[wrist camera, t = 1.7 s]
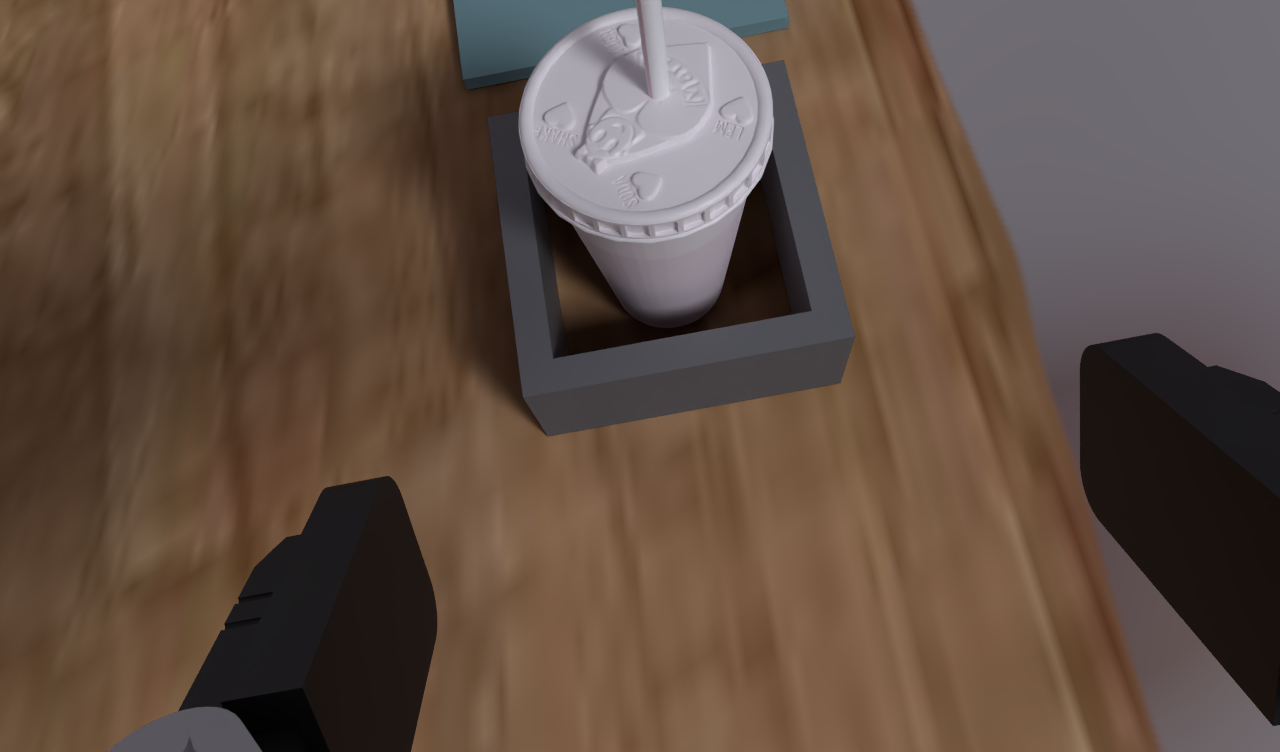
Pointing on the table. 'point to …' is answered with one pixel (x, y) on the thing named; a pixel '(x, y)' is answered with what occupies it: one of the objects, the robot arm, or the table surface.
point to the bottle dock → (687, 363)
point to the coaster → (570, 29)
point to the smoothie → (650, 150)
